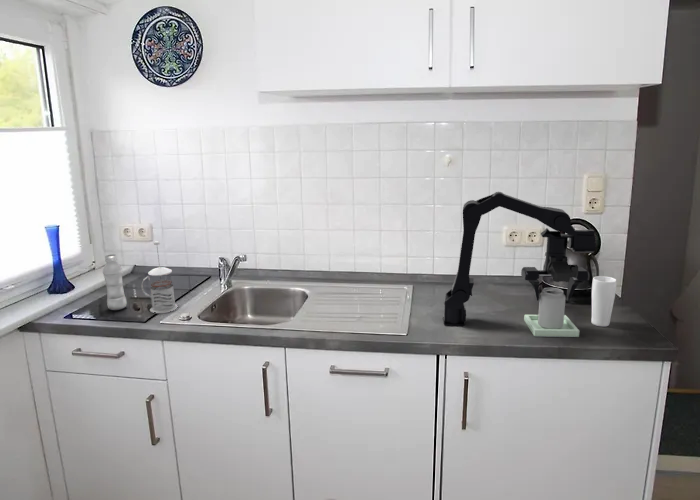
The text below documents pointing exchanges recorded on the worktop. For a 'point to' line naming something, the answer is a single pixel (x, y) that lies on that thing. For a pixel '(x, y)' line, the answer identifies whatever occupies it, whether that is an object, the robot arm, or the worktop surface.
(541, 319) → the can
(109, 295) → the plastic bottle
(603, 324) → the drinking glass
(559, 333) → the tray
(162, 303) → the french press
